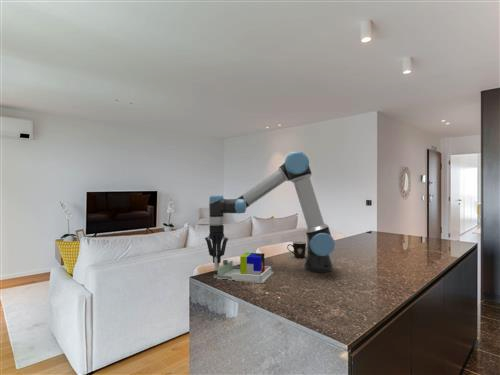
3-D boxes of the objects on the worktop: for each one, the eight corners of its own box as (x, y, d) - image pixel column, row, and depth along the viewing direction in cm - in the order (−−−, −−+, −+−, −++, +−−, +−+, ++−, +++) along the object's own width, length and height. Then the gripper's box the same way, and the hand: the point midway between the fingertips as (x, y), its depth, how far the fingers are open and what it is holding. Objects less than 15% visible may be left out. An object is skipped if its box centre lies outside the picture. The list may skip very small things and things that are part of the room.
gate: (233, 268, 155) (233, 257, 156) (220, 276, 140) (220, 264, 140) (229, 267, 156) (229, 257, 156) (216, 275, 140) (216, 263, 141)
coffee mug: (308, 257, 186) (308, 242, 186) (303, 260, 179) (303, 244, 179) (292, 255, 192) (291, 240, 192) (286, 258, 185) (286, 242, 185)
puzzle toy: (260, 278, 137) (259, 257, 137) (240, 277, 139) (240, 256, 140) (264, 272, 146) (264, 253, 147) (246, 271, 149) (245, 252, 149)
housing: (273, 272, 149) (273, 266, 149) (263, 283, 131) (263, 276, 131) (229, 269, 157) (229, 263, 158) (213, 278, 140) (213, 271, 140)
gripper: (230, 224, 152) (231, 268, 151) (208, 223, 156) (209, 266, 155) (224, 225, 145) (225, 272, 144) (202, 224, 149) (202, 270, 148)
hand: (216, 269), depth 150 cm, fingers closed
